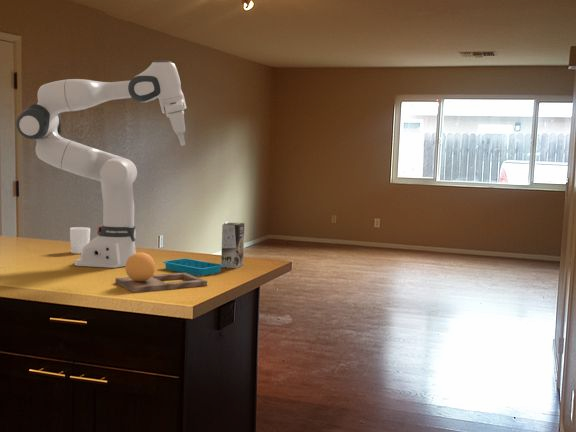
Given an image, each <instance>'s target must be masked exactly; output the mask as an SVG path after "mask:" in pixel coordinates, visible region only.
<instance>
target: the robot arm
mask: <svg viewBox="0 0 576 432" xmlns="http://www.w3.org/2000/svg"><path fill="white" fill-rule="evenodd" d="M181 84H182V82H181V79H180V75H179V72H178V68H177V66H176V64H175V63H174V62H173V61H170V60H155V61H153V62H151V64H150V65H149V66H148V67H147V68H146V69H145V70H143V71H142V72H141V73H138V74H137V75H134V76H133V77H132V78H131V79H130V80H121V81H112V82H111V81H109V82H108V81H98V80H92V79H83V78H70V79H69V78H68V79H62V80H56V81H51V82H48V83H44V84H42V85H41V86H40V87H39V88H38V90H37V94H36V95H37V103H33V104H31V105H30V106H28V107H27V108H26V109H23V111H22V112H21V113H20V114H19V115H18V116H17V118H16V122H15V124H16V125H15V126H16V129H17V131H18V132H19V134H20V135H21V136H23V137H24V138H26V139H29V140H34V141H35V142H36V144H35V145H36V146H35V155H36V157H37V158H38V159H39V160H41V161H43V162H44V163H46V164H48V165H49V166H52V167H54V168H57V169H59V170H63V171H65V172H69V173H71V174H74V175H77V176H80V177H83V178H87V179H91V180H95V181H97V182H100V186H101V194H102V196H101V197H102V203H103V205H102V208H103V209H102V210H103V212H102V213H103V215H102V217H103V218H102V219H103V220H102V221H103V223H102V224H103V225H102V224H101V225H99V226H98V227H97V229H96V230H97V232H96V233H97V236H95V237H94V238H93V239H91V240H90V242H89V243H88V244H86V245H85V246H84V247H83V250H82V253H81V254H80V258H77V259H76V260H75V261H74V266H77V267H91V268H92V267H94V268H108V269H109V268H112V269H113V268H114V269H115V268H116V269H117V268H122V267H125V265H126V262H127V260H128V258H129V257H130V256H131V255H133V254H135V253H137V251H136V243H135V242H136V238H137V237H136V235H137V229H136V225H135V201H134V187H133V184H134V182H135V181H136V179H137V176H138V169H137V167H136V164H135V163H134V162H133V161H132V160H130V159H128V158H125V157H123V156H121V155H116V154H113V153H110V152H107V151H104V150H101V149H97V148H94V147H92V146H88V145H85V144H83V143H80V142H77V141H74V140H72V139H67V138H65V137H62V136H61V133H62V129H61V125H62V119H61V118H62V117H61V113H67V112H77V111H82V110H87V109H90V108H93V107H95V106H98V105H100V104H103V103H106V102H110V101H114V100H122V99H132V100H134V101H136V102H139V103H149V102H154V101H157V100H158V101H159V106H160V110H161V112H162V114H165V115H166V118H169V122H170V124H171V126H172V129H173V131H174V133H175V134H176V136H177V138H178V141H179V144H180V146H181V147H183V146H186V141H185V140H186V139H185V134H184V133H185V132H186V123H185V122H186V121H185V116H184V115H185V111H184V110H185V109H188V107H187V104H186V99H185V95H184V93H183V90H182V87H181V86H182V85H181Z"/></svg>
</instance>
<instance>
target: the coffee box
mask: <svg viewBox="0 0 576 432" xmlns="http://www.w3.org/2000/svg"><path fill="white" fill-rule="evenodd" d="M221 229H222V230H221V255H220V256H221V257H220V258H221V262H220V264H222V265H223V266H222V267H221V268H225V267H226V268H227V269H238V268H240V267H242V266H243V265H244V259H245V258H244V257H245V252H244V251H245V222H226V223H223V224H222V228H221Z"/></svg>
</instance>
